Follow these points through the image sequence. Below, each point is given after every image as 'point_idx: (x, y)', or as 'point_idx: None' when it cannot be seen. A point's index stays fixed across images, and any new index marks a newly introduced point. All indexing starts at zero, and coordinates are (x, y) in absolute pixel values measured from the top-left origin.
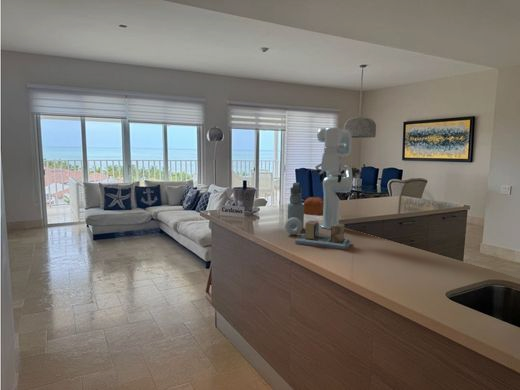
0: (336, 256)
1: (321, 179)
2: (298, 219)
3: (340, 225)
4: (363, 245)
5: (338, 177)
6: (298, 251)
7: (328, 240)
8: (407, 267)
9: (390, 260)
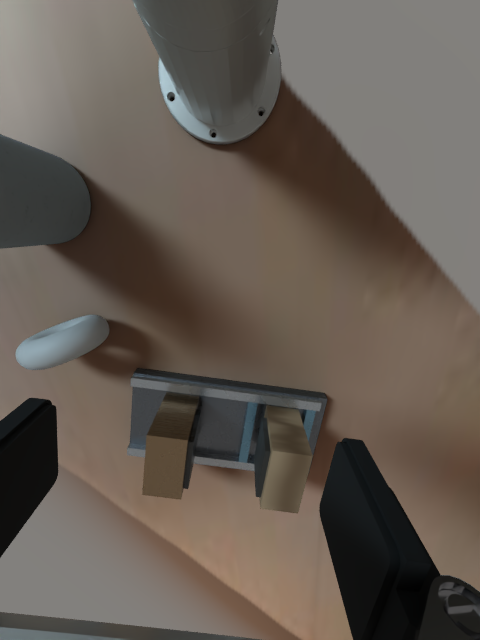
0: (277, 527)
1: (29, 508)
2: (69, 353)
3: (294, 493)
4: (366, 399)
5: (351, 601)
6: (166, 514)
7: (245, 447)
8: (450, 558)
9: (421, 521)
